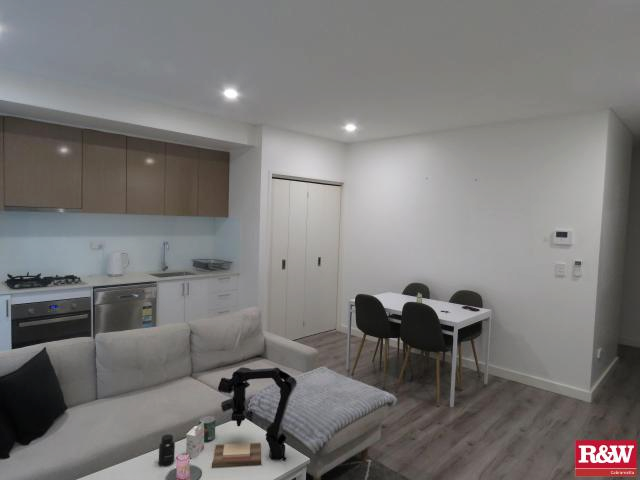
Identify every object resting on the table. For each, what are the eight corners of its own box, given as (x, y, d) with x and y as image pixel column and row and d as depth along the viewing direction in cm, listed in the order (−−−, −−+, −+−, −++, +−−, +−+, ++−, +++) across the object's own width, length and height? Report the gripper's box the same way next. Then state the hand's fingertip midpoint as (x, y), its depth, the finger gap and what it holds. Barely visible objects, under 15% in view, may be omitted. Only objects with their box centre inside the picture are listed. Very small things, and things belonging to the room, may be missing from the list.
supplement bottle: (167, 468, 183) (167, 442, 182) (155, 464, 185) (155, 438, 185) (177, 460, 189) (178, 434, 189) (165, 456, 192) (166, 431, 191)
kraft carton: (224, 454, 193) (224, 444, 193) (249, 453, 195) (250, 442, 195) (222, 465, 184) (222, 455, 184) (249, 464, 186) (249, 453, 186)
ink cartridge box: (194, 448, 199) (195, 419, 198) (204, 450, 198) (204, 420, 197) (185, 458, 191) (186, 427, 190) (195, 460, 190) (196, 429, 189)
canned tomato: (195, 443, 204) (196, 421, 204) (203, 435, 212) (204, 414, 211) (210, 445, 202) (210, 423, 202) (217, 437, 210) (218, 416, 209)
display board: (215, 446, 201) (215, 440, 201) (260, 444, 205) (260, 438, 205) (211, 470, 182) (211, 463, 182) (261, 467, 186) (261, 460, 186)
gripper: (223, 387, 206) (223, 417, 207) (220, 403, 187) (219, 437, 188) (246, 386, 208) (245, 416, 208) (245, 403, 189) (244, 435, 190)
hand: (238, 426), depth 199 cm, fingers closed
